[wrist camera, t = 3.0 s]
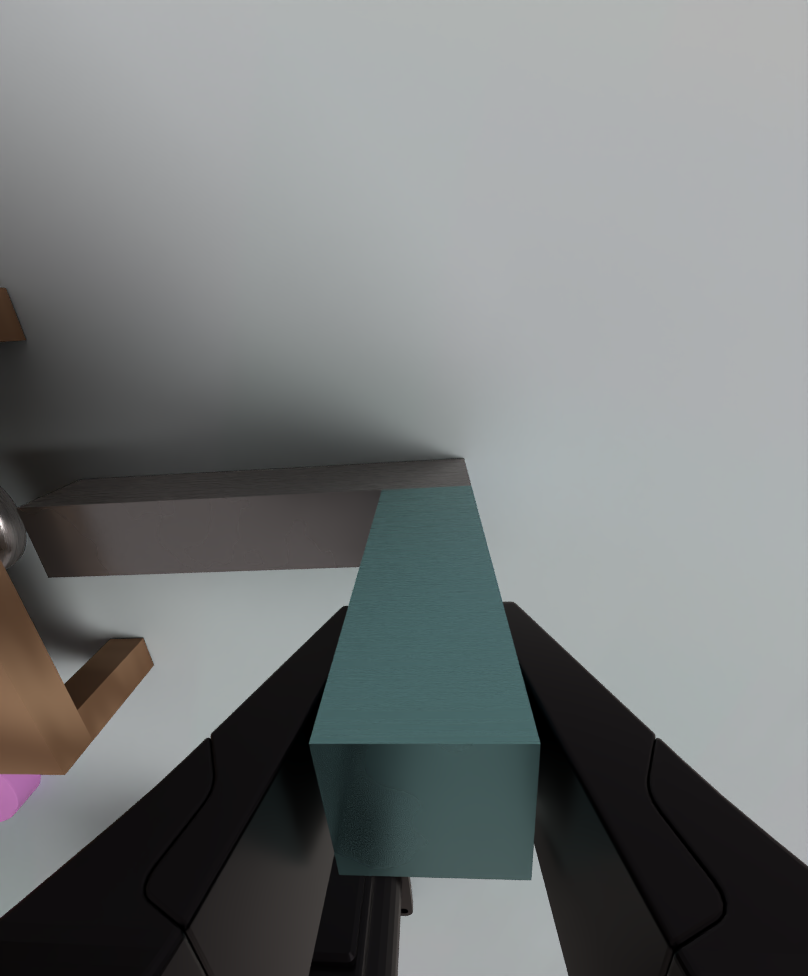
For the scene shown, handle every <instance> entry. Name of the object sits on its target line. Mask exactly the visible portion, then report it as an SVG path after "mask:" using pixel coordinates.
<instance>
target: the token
mask: <svg viewBox="0 0 808 976" xmlns="http://www.w3.org/2000/svg"><path fill="white" fill-rule="evenodd" d="M16 508H17V506H16V505H15V503H14V502H13V500H12V499H11V497H10V496H9V495H8V494H7V493H6V491H5V490H4V489H3V488H2V487H1V486H0V560H1V562H2V564H3V566H4V567H5V569H7V568H9V567H11V566H12V565H14V564H15V563H16V562H17V561H18V560H19V559H20V558H21V556H22V555H23V552H24V550H25V546H26V528H25V526H24V524H23V522H22V520H21V518H20V516H19V514H18V511H17V509H16Z"/></svg>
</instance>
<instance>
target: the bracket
mask: <svg viewBox="0 0 808 976" xmlns="http://www.w3.org/2000/svg"><path fill="white" fill-rule="evenodd" d="M40 779H41V776H40V775H31V774H0V822H1V821H4V820H7V819H9V818H11V817H12V816H13V815H14V814H15V813H16V812H17V811H18V809H19V808H20V807H21V806H22V805H23V804H24V802H25V801H26V800H27V799H28V798H29V796H30V795H31V794H32V793H33V792H34V791H35V789H36V788H37V787H38V785H39V783H40Z"/></svg>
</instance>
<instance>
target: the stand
mask: <svg viewBox="0 0 808 976" xmlns="http://www.w3.org/2000/svg"><path fill="white" fill-rule="evenodd" d="M22 340H26V338H25V336H24V333H23V331H22V328H21V326H20V323H19V321H18V318H17V315H16V313H15V310H14V308H13V305H12V303H11V300H10V298H9V295H8V293H7V290H6V288H0V342H11V341H22ZM153 666H154V664H153V662H152V659H151V657H150V654H149V652H148V649H147V646H146V644H145V641H144V639H143V638H133V639H110V640H109V641H108V642H107V643H106V644H105V645H104V646H103V647H102V648H101V649H100V650H99V651H98V652H97V653H96V654H95V655H94V656H93V657H92V658H91V659H89V660H88V661H87V662H86V663H85V664H84V665H83V666H82V667H81V668H80V669H79V670H78V671H77V672H76V673H75V674H74V675H73V676H72V677H71V678H70V679H69V680H68V681H67V682H66V683H65V684H64V683H63V681H62V679H61V677H60V675H59V673H58V671H57V669H56V668H55V666H54V664H53V662H52V660H51V658H50V656H49V654H48V652H47V650H46V648H45V646H44V644H43V642H42V640H41V638H40V636H39V634H38V632H37V630H36V628H35V626H34V624H33V622H32V620H31V618H30V617H29V615H28V613H27V611H26V609H25V607H24V605H23V603H22V601H21V599H20V597H19V595H18V593H17V591H16V589H15V587H14V585H13V583H12V581H11V579H10V577H9V575H8V573H7V571H6V569H5V567H4V566H3V564H2V562H1V560H0V774H31V775H65V774H66V773H67V772H68V770H69V769H70V768H71V767H72V766H73V764H74V763H75V762H76V761H77V759H78V758H79V757H80V756H81V754H82V753H83V752H84V751H85V750H86V748H87V747H88V746H89V745H90V743H91V742H92V741H93V740H94V738H95V737H96V736H97V735H98V734H99V732H100V731H101V730H102V729H103V727H104V726H105V725H106V724H107V722H108V721H109V720H110V719H111V717H112V716H113V715H114V714H115V713H116V711H117V710H118V709H119V708H120V706H121V705H122V704H123V703H124V701H125V700H126V699H127V698H128V697H129V695H130V694H131V693H132V692H133V690H134V689H135V688H136V687H137V685H138V684H139V683H140V682H141V681H142V679H143V678H144V677H145V676H146V674H147V673H148V672H149V671H150V669H151V668H152V667H153Z"/></svg>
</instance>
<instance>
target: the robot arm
mask: <svg viewBox="0 0 808 976" xmlns="http://www.w3.org/2000/svg"><path fill="white" fill-rule="evenodd" d="M503 606H504V610H505V613H506V617H507V621H508V625H509V628H510V632H511V636H512V639H513V643H514V647H515V651H516V654H517V658H518V662H519V666H520V669H521V673H522V677H523V680H524V684H525V688H526V692H527V695H528V699H529V703H530V707H531V710H532V714H533V718H534V722H535V725H536V729H537V733H538V736H539V740H540V759H539V774H538V789H537V803H536V818H535V833H534V845H535V849H536V852H537V856H538V860H539V864H540V868H541V872H542V876H543V879H544V883H545V887H546V891H547V895H548V899H549V903H550V906H551V910H552V914H553V918H554V922H555V926H556V929H557V933H558V937H559V941H560V945H561V949H562V953H563V956H564V960H565V964H566V968H567V972H568V976H808V866H807V865H806V864H804V863H803V862H802V861H801V860H800V859H798V858H797V857H796V856H795V855H793V854H792V853H791V852H790V851H789V850H787V849H786V848H785V847H784V846H782V845H781V844H780V843H779V842H777V841H776V840H775V839H774V838H773V837H771V836H770V835H769V834H768V833H767V832H765V831H764V830H763V829H762V828H761V827H759V826H758V825H757V824H756V823H755V822H753V821H752V820H751V819H750V818H749V817H747V816H746V815H745V814H744V813H743V812H742V811H740V810H739V809H738V808H737V807H736V806H734V805H733V804H732V803H731V802H730V801H728V800H727V799H726V798H725V797H724V796H722V795H721V794H720V793H719V792H718V791H717V790H716V789H715V788H714V787H712V786H711V785H710V784H709V783H708V782H707V781H706V780H705V779H704V778H702V777H701V776H700V775H699V774H698V773H697V772H696V771H695V770H694V769H692V768H691V767H690V766H689V765H688V764H687V763H686V762H685V761H684V760H682V759H681V758H680V757H679V756H678V755H677V754H676V753H675V752H674V751H673V750H672V749H671V748H670V747H669V746H667V745H666V744H665V743H664V742H663V741H662V740H661V739H659V738H656V739H655V734H654V733H653V732H652V731H651V730H650V729H649V728H648V727H647V726H646V725H645V724H644V723H643V722H642V721H641V720H639V719H638V718H637V717H636V716H635V715H634V714H633V713H632V712H631V711H630V710H629V709H628V708H627V707H626V706H625V705H623V704H622V703H621V702H620V701H619V700H618V699H617V698H616V697H615V696H614V695H613V694H612V693H611V692H610V691H609V690H607V689H606V688H605V687H604V686H603V685H602V684H601V683H600V682H599V681H598V680H597V679H596V678H595V677H594V676H593V675H591V674H590V673H589V672H588V671H587V670H586V669H585V668H584V667H583V666H582V665H581V664H580V663H579V662H578V661H577V660H575V659H574V658H573V657H572V656H571V655H570V654H569V653H568V652H567V651H566V650H565V649H564V648H563V647H562V646H561V645H559V644H558V643H557V642H556V641H555V640H554V639H553V638H552V637H551V636H550V635H549V634H548V633H547V632H546V631H545V630H543V629H542V628H541V627H540V626H539V625H538V624H537V623H536V622H535V621H534V620H533V619H532V618H531V617H530V616H529V615H527V614H526V613H525V612H524V611H523V610H522V609H521V608H520V607H519V606H518V605H517V604H516V603H514V602H503ZM347 609H348V606H343V607H342V608H341V609H340V610H338V611H337V612H336V613H335V614H334V615H333V616H332V617H331V618H330V619H329V620H328V621H327V622H326V623H325V624H324V625H323V626H322V627H321V628H320V629H319V630H318V631H317V632H316V633H315V634H314V635H313V636H312V637H311V638H310V639H308V640H307V641H306V642H305V643H304V644H303V645H302V646H301V647H300V648H299V649H298V650H297V651H296V652H295V653H294V654H293V655H292V656H291V657H290V658H289V659H288V660H287V661H286V662H285V663H284V664H283V665H282V666H281V667H280V668H279V669H277V670H276V671H275V672H274V673H273V674H272V675H271V676H270V677H269V678H268V679H267V680H266V681H265V682H264V683H263V684H262V685H261V686H260V687H259V688H258V689H257V690H256V691H255V692H254V693H253V694H252V695H251V696H250V697H249V698H248V699H246V700H245V701H244V702H243V703H242V704H241V705H240V706H239V707H238V708H237V709H236V710H235V711H234V712H233V713H232V714H231V715H230V716H229V717H228V718H227V719H226V720H225V721H224V722H223V723H222V724H221V725H220V726H219V727H218V728H217V729H215V730H214V731H213V732H212V733H211V739H210V738H206V739H205V740H204V741H203V742H202V743H201V744H200V745H199V746H198V747H197V748H196V749H195V750H194V751H192V752H191V753H190V754H189V755H188V756H187V757H186V758H185V759H184V760H183V761H182V762H181V763H180V764H179V765H178V766H177V767H176V768H174V769H173V770H172V771H171V772H170V773H169V774H168V775H167V776H166V777H165V778H164V779H163V780H162V781H160V782H159V783H158V784H157V785H156V786H155V787H154V788H153V789H152V790H151V791H149V792H148V793H147V794H146V795H145V796H144V797H143V798H141V799H140V800H139V801H138V802H137V803H136V804H135V805H133V806H132V807H131V808H130V809H129V810H128V811H126V812H125V813H124V814H123V815H122V816H121V817H120V818H118V819H117V820H116V821H115V822H114V823H113V824H111V825H110V826H109V827H108V828H107V829H106V830H104V831H103V832H102V833H101V834H100V835H98V836H97V837H96V838H95V839H94V840H93V841H91V842H90V843H89V844H88V845H87V846H85V847H84V848H83V849H82V850H81V851H79V852H78V853H77V854H76V855H75V856H74V857H72V858H71V859H70V860H69V861H68V862H66V863H65V864H64V865H63V866H62V867H60V868H59V869H58V870H57V871H56V872H55V873H53V874H52V875H51V876H50V877H49V878H47V879H46V880H45V881H44V882H43V883H41V884H40V885H39V886H38V887H37V888H36V889H34V890H33V891H32V892H31V893H30V894H28V895H27V896H26V897H25V898H24V899H22V900H21V901H20V902H19V903H18V904H17V905H15V906H14V907H13V908H12V909H11V910H9V911H8V912H7V913H6V914H5V915H3V916H2V917H1V918H0V976H398V958H399V937H400V916H408V915H411V914H412V912H413V898H412V890H411V882H410V877H396V876H361V875H339V872H338V867H337V863H336V859H335V854H334V850H333V846H332V841H331V837H330V833H329V828H328V824H327V820H326V815H325V811H324V807H323V803H322V798H321V794H320V790H319V785H318V781H317V777H316V772H315V768H314V764H313V759H312V755H311V751H310V746H309V742H310V738H311V735H312V731H313V728H314V724H315V721H316V717H317V714H318V710H319V707H320V703H321V700H322V696H323V693H324V689H325V686H326V682H327V679H328V675H329V672H330V669H331V665H332V662H333V658H334V655H335V651H336V648H337V644H338V641H339V637H340V634H341V630H342V627H343V623H344V620H345V616H346V613H347Z"/></svg>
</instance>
